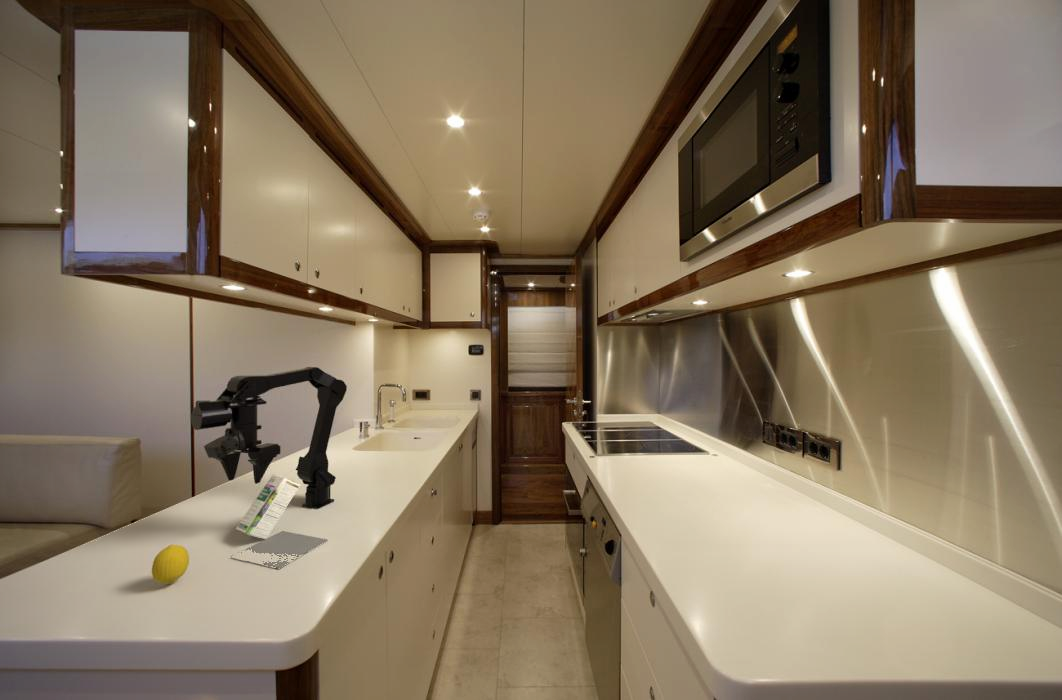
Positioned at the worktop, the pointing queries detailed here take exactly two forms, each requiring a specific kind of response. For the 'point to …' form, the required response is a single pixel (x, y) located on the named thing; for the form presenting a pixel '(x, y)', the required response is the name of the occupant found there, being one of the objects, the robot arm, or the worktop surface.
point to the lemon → (170, 564)
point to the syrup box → (268, 507)
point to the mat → (286, 546)
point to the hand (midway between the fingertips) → (244, 481)
